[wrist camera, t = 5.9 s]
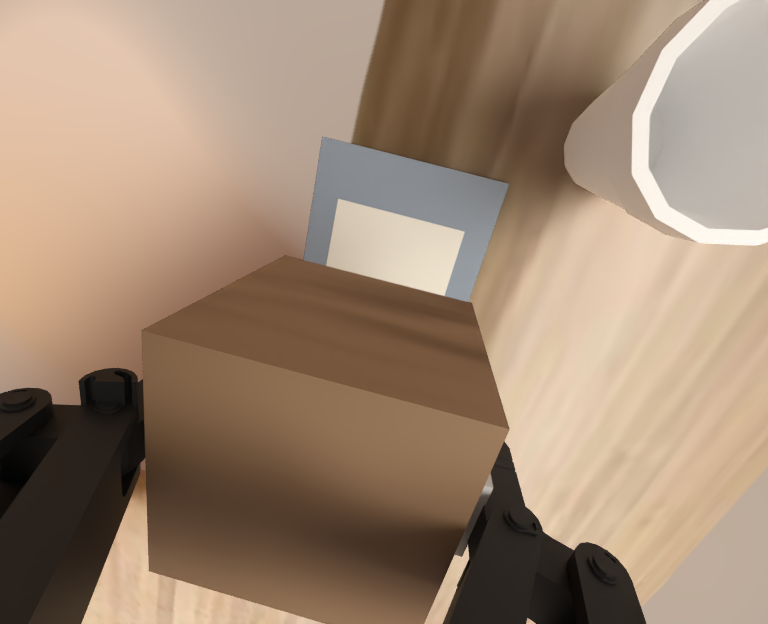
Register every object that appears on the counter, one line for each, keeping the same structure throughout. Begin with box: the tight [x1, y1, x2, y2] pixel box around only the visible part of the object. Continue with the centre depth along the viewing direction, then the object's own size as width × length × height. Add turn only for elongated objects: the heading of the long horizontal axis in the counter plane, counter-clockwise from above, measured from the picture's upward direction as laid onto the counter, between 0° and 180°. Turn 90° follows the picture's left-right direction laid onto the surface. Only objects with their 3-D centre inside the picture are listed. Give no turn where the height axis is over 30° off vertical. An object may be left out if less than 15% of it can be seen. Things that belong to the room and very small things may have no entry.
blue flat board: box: [303, 137, 509, 302], centre depth 30 cm, size 18×14×1 cm
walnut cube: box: [142, 256, 509, 624], centre depth 13 cm, size 8×8×8 cm
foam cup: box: [564, 0, 768, 246], centre depth 19 cm, size 10×9×13 cm
